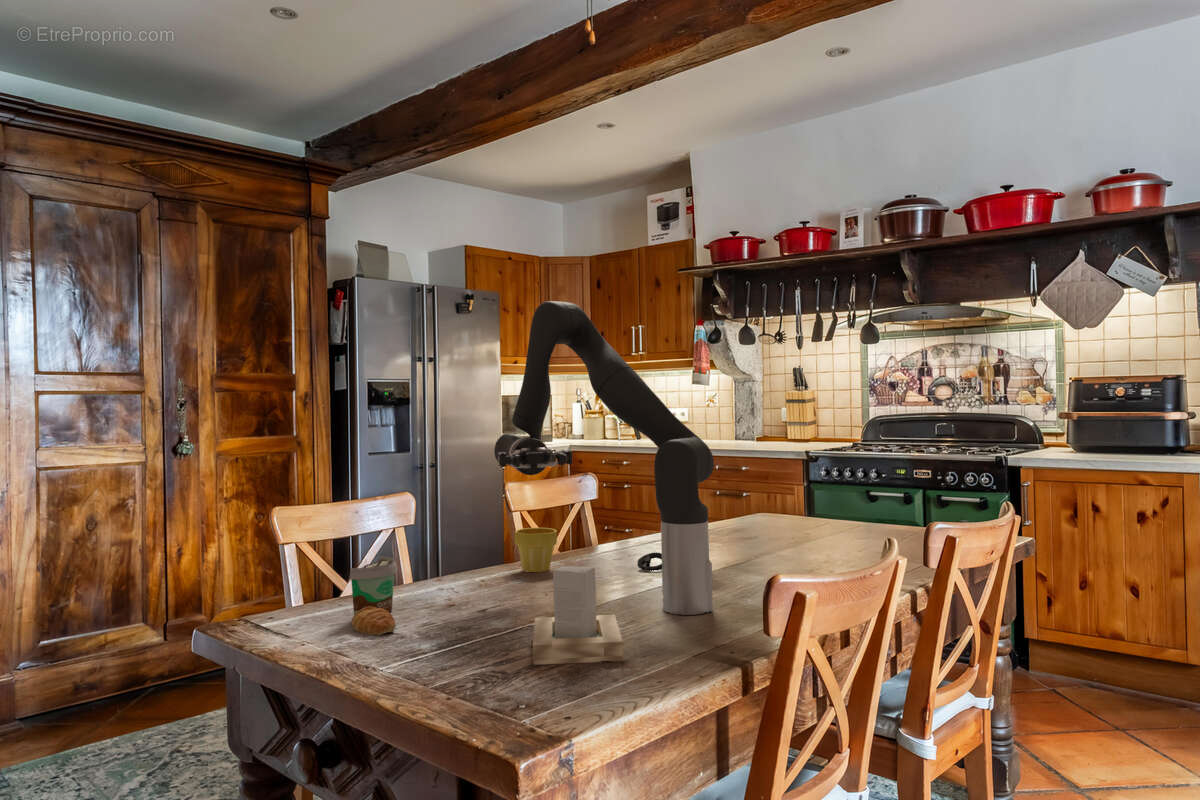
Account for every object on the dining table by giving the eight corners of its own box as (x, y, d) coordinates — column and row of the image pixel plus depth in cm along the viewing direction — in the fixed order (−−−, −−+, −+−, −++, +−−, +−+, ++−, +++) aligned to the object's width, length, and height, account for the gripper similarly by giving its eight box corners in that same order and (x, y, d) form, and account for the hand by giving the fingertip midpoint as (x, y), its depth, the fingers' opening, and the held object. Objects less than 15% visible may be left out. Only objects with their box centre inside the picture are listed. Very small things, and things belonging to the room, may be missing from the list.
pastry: (405, 632, 141) (404, 611, 141) (370, 640, 137) (370, 618, 137) (381, 622, 148) (380, 602, 148) (347, 630, 144) (346, 609, 144)
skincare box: (597, 639, 130) (596, 567, 130) (586, 646, 126) (585, 572, 126) (565, 635, 133) (564, 565, 133) (553, 642, 129) (552, 570, 129)
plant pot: (561, 566, 196) (561, 527, 196) (552, 575, 186) (551, 534, 186) (521, 565, 198) (521, 526, 198) (510, 574, 188) (509, 533, 188)
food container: (380, 622, 147) (379, 569, 148) (350, 621, 149) (349, 568, 149) (408, 605, 160) (407, 556, 160) (381, 604, 161) (380, 556, 161)
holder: (615, 631, 138) (614, 614, 138) (623, 661, 122) (622, 641, 122) (535, 634, 137) (535, 617, 137) (533, 664, 121) (532, 645, 121)
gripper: (493, 438, 161) (502, 441, 145) (561, 436, 164) (577, 439, 148) (494, 475, 161) (502, 482, 145) (562, 472, 164) (578, 478, 148)
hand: (540, 460), depth 146 cm, fingers open, 8 cm apart
